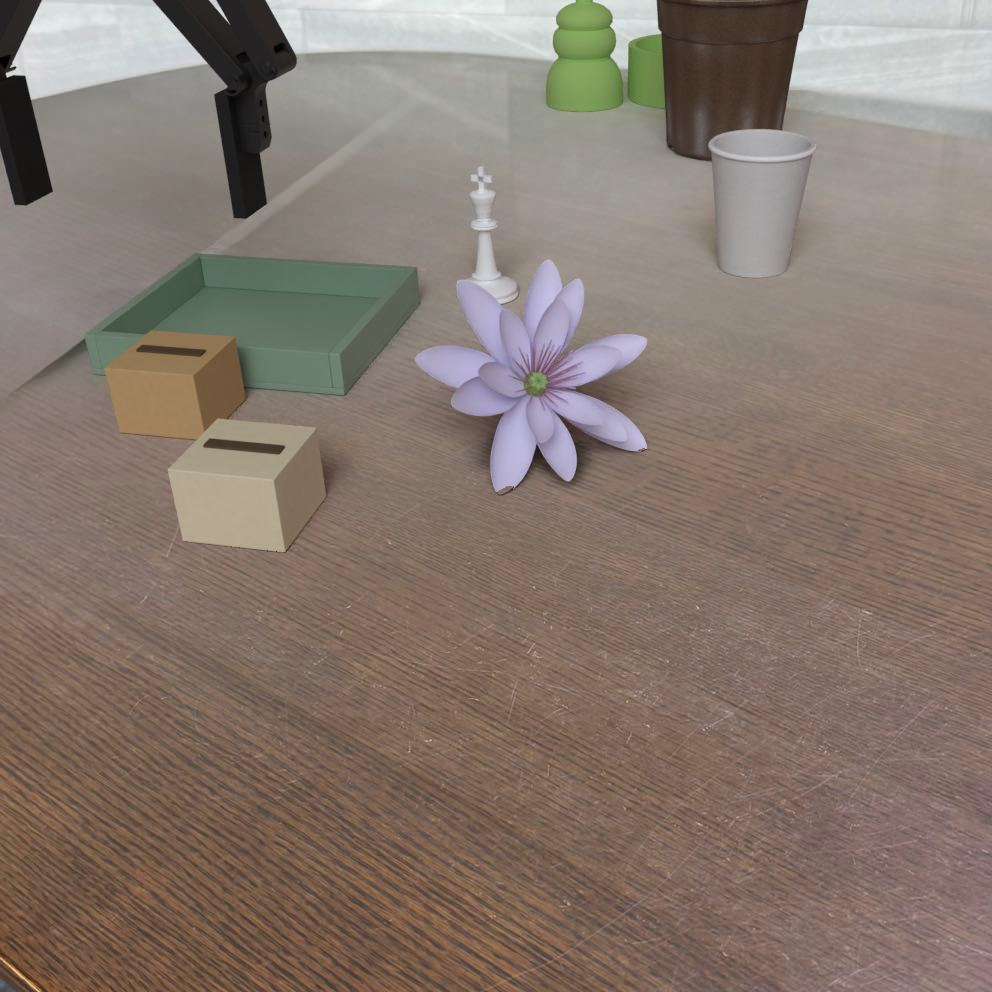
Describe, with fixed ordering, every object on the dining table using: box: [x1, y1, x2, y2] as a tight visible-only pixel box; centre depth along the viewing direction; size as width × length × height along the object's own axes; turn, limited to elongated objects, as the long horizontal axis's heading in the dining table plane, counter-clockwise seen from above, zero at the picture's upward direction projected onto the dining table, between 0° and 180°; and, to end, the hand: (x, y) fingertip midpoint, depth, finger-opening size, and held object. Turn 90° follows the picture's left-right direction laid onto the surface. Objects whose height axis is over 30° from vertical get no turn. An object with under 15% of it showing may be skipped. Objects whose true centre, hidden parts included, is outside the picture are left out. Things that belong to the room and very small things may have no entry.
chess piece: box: [455, 165, 520, 305], centre depth 92 cm, size 5×5×10 cm
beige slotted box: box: [167, 418, 327, 553], centre depth 66 cm, size 6×6×5 cm
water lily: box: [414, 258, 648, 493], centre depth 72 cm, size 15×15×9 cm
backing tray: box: [83, 252, 421, 396], centre depth 88 cm, size 19×17×3 cm
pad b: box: [104, 330, 247, 441], centre depth 77 cm, size 6×6×5 cm
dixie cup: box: [708, 129, 818, 279], centre depth 96 cm, size 8×8×10 cm
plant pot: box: [656, 0, 809, 162], centre depth 125 cm, size 16×16×16 cm
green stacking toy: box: [545, 0, 665, 113], centre depth 146 cm, size 25×15×13 cm, turn 101°
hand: (140, 205), depth 68 cm, fingers open, 13 cm apart
